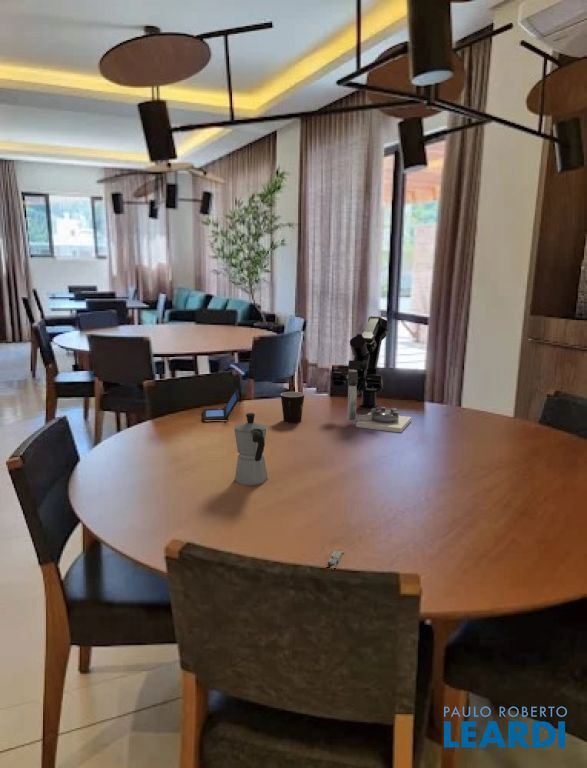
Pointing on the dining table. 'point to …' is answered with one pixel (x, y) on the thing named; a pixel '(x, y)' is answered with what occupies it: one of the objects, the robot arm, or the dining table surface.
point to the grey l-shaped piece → (375, 414)
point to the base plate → (385, 424)
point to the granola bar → (334, 558)
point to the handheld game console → (221, 409)
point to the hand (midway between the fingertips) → (352, 399)
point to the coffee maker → (250, 452)
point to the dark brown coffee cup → (292, 406)
